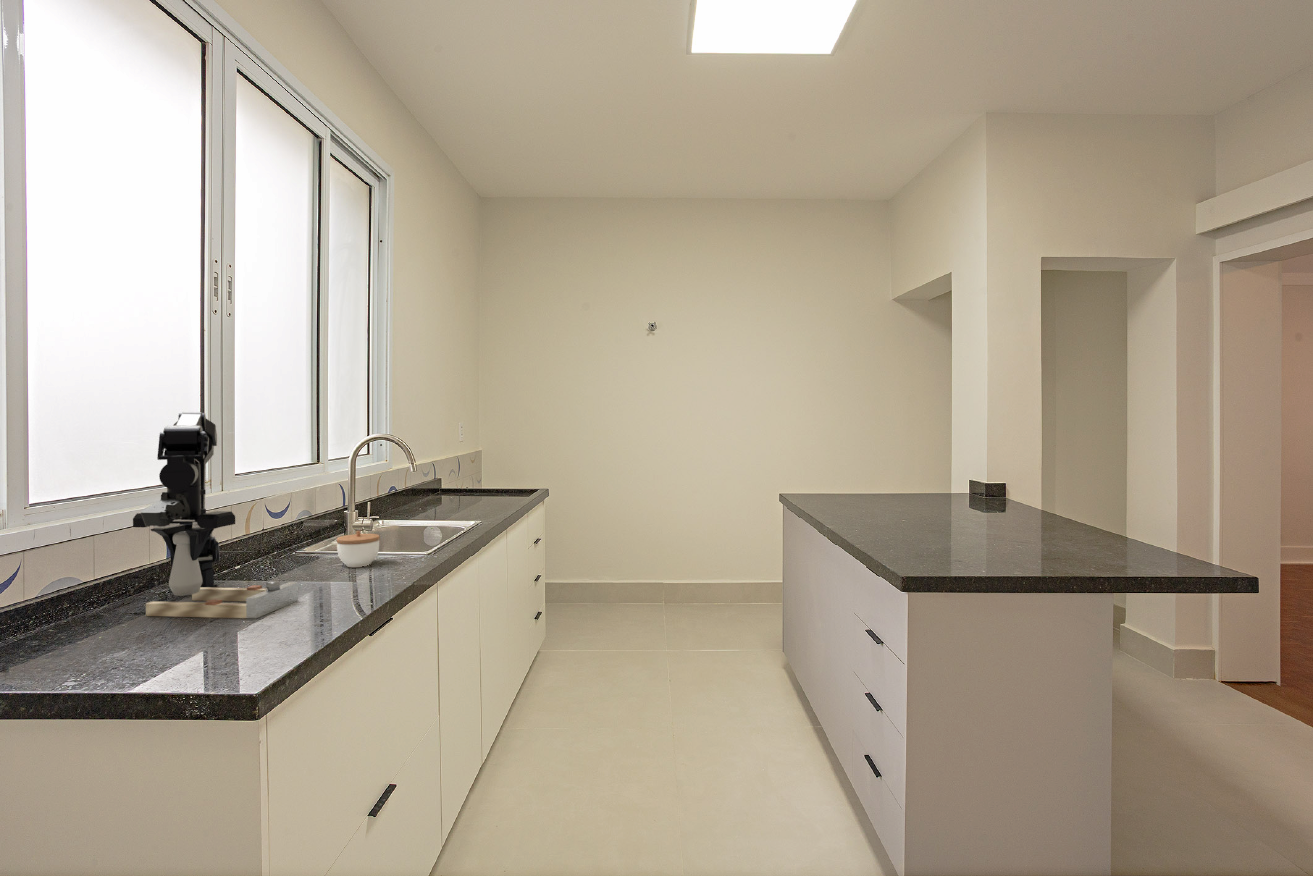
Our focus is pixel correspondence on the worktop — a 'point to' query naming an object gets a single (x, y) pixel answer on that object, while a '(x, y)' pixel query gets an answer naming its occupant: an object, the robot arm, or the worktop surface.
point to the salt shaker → (184, 568)
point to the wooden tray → (255, 606)
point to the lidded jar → (358, 549)
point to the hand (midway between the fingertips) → (185, 560)
